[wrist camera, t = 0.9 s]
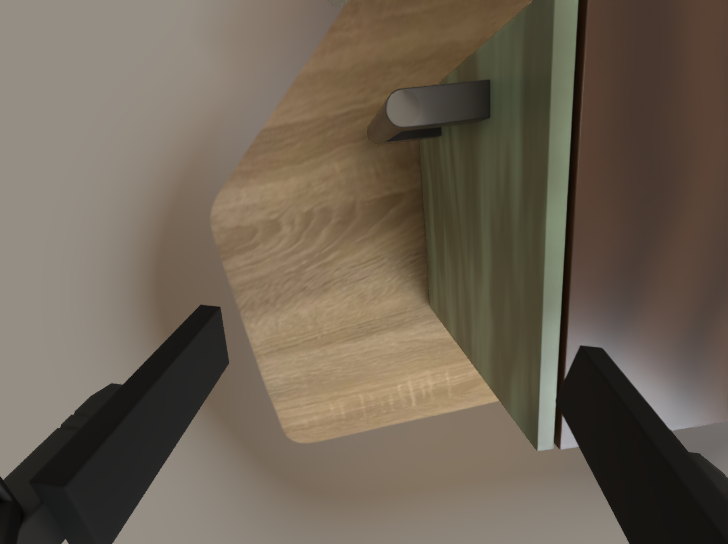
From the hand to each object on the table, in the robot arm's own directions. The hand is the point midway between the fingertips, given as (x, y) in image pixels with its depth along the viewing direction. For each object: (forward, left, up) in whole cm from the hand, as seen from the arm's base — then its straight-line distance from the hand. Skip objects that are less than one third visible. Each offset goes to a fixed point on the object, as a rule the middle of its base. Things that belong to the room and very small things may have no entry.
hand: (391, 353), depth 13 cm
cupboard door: (-2, +6, -26) cm, 26 cm away
